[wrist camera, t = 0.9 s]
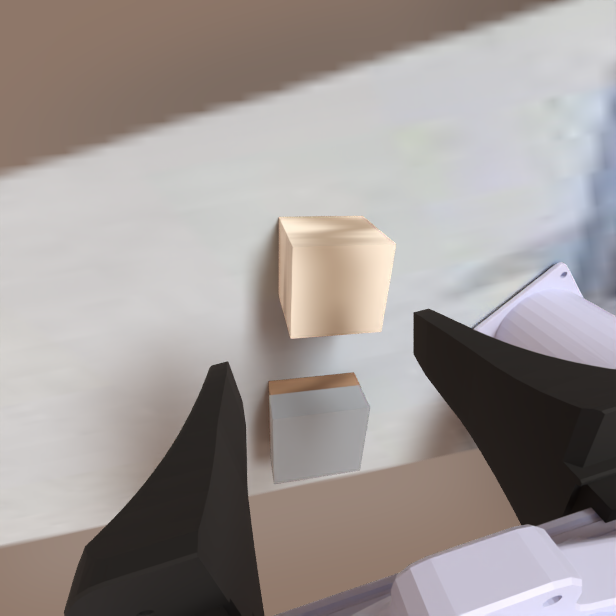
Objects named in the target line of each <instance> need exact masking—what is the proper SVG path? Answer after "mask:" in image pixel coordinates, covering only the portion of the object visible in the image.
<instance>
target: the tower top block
mask: <svg viewBox="0 0 616 616" xmlns="http://www.w3.org/2000/svg"><path fill="white" fill-rule="evenodd" d="M269 410H270V450H271V465H272V472H273V480H274V484H278V483H284V482H291V481H297V480H303V479H309V478H316V477H322V476H328V475H334V474H341V473H347V472H353V471H359V470H360V467H361V460H362V454H363V448H364V442H365V436H366V430H367V424H368V417H369V411H370V406H369V404H368V402H367V400H366V397H365V395H364V393H363V391H362V389H361V387H360V385H356V386H347V387H338V388H329V389H321V390H312V391H303V392H294V393H285V394H277V395H269Z"/></svg>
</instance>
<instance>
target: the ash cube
mask: <svg viewBox="0 0 616 616" xmlns="http://www.w3.org/2000/svg"><path fill="white" fill-rule="evenodd" d="M395 248H396V243H394V242H393V241H392V240H391V239H390V238H388V237H387V236H386V235H385V234H384V233H382V232H381V231H380V230H379V229H378V228H376V227H375V226H374V225H373V224H372V223H371V222H369V221H368V220H367V219H366V218H365V217H363V216H316V217H279V299H280V302H281V306H282V309H283V313H284V317H285V320H286V324H287V328H288V331H289V335H290V338H291V339H295V338H307V337H320V336H333V335H346V334H359V333H372V332H381V330H382V324H383V319H384V313H385V307H386V301H387V295H388V289H389V283H390V278H391V272H392V266H393V260H394V254H395Z"/></svg>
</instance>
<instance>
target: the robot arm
mask: <svg viewBox="0 0 616 616" xmlns="http://www.w3.org/2000/svg"><path fill="white" fill-rule="evenodd" d="M414 355H415V357H416V359H417V361H418V363H419V365H420V366H421V368H422V370H423V371H424V373H425V375H426V376H427V377H428V379H429V380H430V381H431V383H432V384H433V385H434V387H435V388H436V389H437V391H438V392H439V393H440V395H441V396H442V397H443V398H444V400H445V401H446V402H447V404H448V405H449V406H450V407H451V409H452V410H453V411H454V413H455V414H456V415H457V416H458V418H459V419H460V420H461V422H462V423H463V425H464V426H465V427H466V429H467V430H468V432H469V433H470V435H471V437H472V438H473V440H474V442H475V443H476V445H477V446H478V448H479V450H480V451H481V452H482V455H483V456H484V458H485V460H486V461H487V463H488V465H489V466H490V468H491V470H492V472H493V473H494V475H495V477H496V478H497V480H498V482H499V484H500V486H501V488H502V489H503V491H504V493H505V495H506V497H507V499H508V500H509V502H510V504H511V506H512V508H513V510H514V512H515V513H516V516H517V517H518V519H519V521H520V523H521V526H516V527H511V528H508V529H506V530H503V531H500V532H497V533H494V534H491V535H488V536H485V537H482V538H479V539H476V540H473V541H470V542H467V543H464V544H461V545H458V546H455V547H452V548H450V549H446V550H443V551H441V552H438V553H435V554H432V555H429V556H426V557H424V558H422V559H420V560H418V561H416V562H414V563H411V564H410V565H408V566H407V567H406V568H405V569H404V570H403V571H401V572H400V573H397V574H394V575H391V576H388V577H385V578H382V579H380V580H376V581H374V582H371V583H368V584H365V585H362V586H359V587H356V588H353V589H350V590H347V591H344V592H341V593H338V594H336V595H332V596H330V597H327V598H324V599H321V600H318V601H315V602H312V603H309V604H306V605H303V606H300V607H297V608H294V609H292V610H289V611H286V612H283V613H280V614H277V615H274V616H616V316H615V315H613V314H611V313H609V312H607V311H606V310H604V309H602V308H600V307H598V306H597V305H595V304H593V303H591V302H589V301H588V300H586V299H584V298H583V296H582V294H581V292H580V290H579V288H578V286H577V284H576V282H575V280H574V278H573V276H572V274H571V272H570V270H569V268H568V266H567V265H566V264H564V263H562V262H560V263H557V264H555V265H554V266H553V267H551V268H550V269H549V270H548V271H546V272H545V273H544V274H542V275H541V276H540V277H539V278H537V279H536V280H535V281H534V282H532V283H531V284H530V285H529V286H527V287H526V288H525V289H523V290H522V291H521V292H520V293H518V294H517V295H516V296H515V297H513V298H512V299H511V300H509V301H508V302H507V303H506V304H504V305H503V306H502V307H501V308H499V309H498V310H497V311H495V312H494V313H493V314H492V315H490V316H489V317H488V318H487V319H485V320H484V321H483V322H481V323H480V324H479V325H478V326H476V327H475V328H474V329H472V328H470V327H467V326H465V325H463V324H461V323H459V322H457V321H455V320H452V319H450V318H448V317H446V316H444V315H442V314H440V313H437V312H435V311H433V310H430V309H426V310H422V311H418V312H414ZM64 615H65V616H264V610H263V603H262V597H261V590H260V584H259V577H258V570H257V563H256V556H255V548H254V541H253V533H252V525H251V517H250V509H249V501H248V488H247V449H246V423H245V416H244V409H243V402H242V399H241V396H240V393H239V390H238V388H237V385H236V382H235V379H234V376H233V374H232V371H231V368H230V365H229V363H228V362H224V363H220V364H216V365H212V366H211V367H210V369H209V371H208V374H207V376H206V379H205V382H204V384H203V386H202V389H201V391H200V393H199V396H198V398H197V400H196V402H195V404H194V406H193V408H192V411H191V413H190V414H189V416H188V418H187V420H186V422H185V424H184V426H183V427H182V429H181V431H180V433H179V435H178V436H177V438H176V440H175V441H174V443H173V444H172V446H171V448H170V449H169V451H168V452H167V454H166V455H165V457H164V458H163V460H162V461H161V462H160V464H159V465H158V466H157V468H156V469H155V471H154V472H153V473H152V475H151V476H150V477H149V478H148V480H147V481H146V482H145V484H144V485H143V486H142V487H141V488H140V490H139V491H138V492H137V493H136V494H135V496H134V497H133V498H132V499H131V500H130V501H129V502H128V503H127V505H126V506H125V507H124V508H123V509H122V510H121V511H120V512H119V513H118V514H117V515H116V516H115V518H114V519H113V520H112V521H111V522H110V523H109V524H108V525H107V526H106V527H105V528H104V529H103V530H102V531H101V532H100V533H99V534H98V535H97V536H96V537H95V538H94V539H93V540H92V541H90V542H89V543H88V544H87V545H86V546H85V548H84V551H83V554H82V556H81V559H80V561H79V564H78V567H77V570H76V573H75V576H74V579H73V583H72V586H71V590H70V593H69V597H68V600H67V603H66V607H65V610H64Z"/></svg>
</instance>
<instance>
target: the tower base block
mask: <svg viewBox="0 0 616 616" xmlns="http://www.w3.org/2000/svg"><path fill="white" fill-rule="evenodd" d="M356 385H360V384H359V382H358V380H357V378H356V376H355V374H354V372H353V373H344V374H334V375H324V376H315V377H305V378H295V379H286V380H276V381H269V395H277V394H285V393H294V392H303V391H312V390H321V389H329V388H338V387H347V386H356ZM360 387H361V386H360ZM269 427H270V410H269Z"/></svg>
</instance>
